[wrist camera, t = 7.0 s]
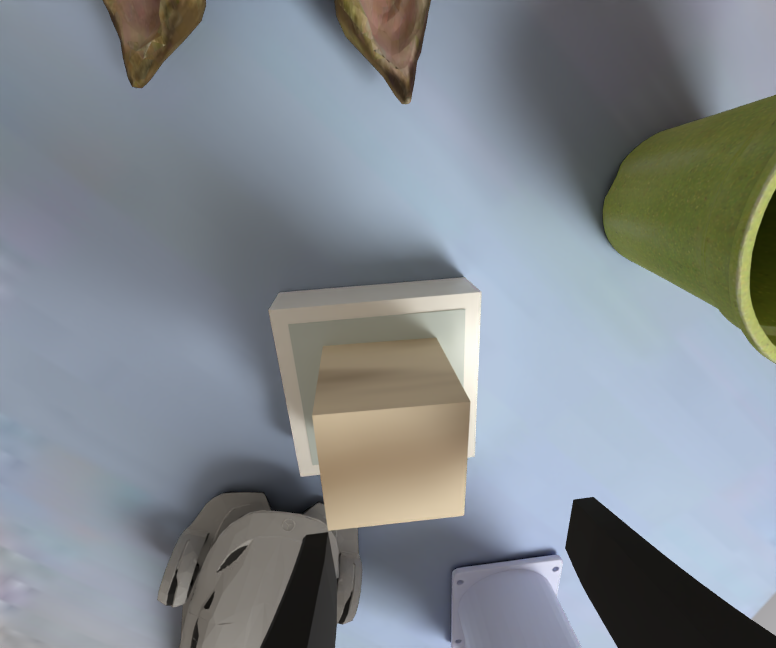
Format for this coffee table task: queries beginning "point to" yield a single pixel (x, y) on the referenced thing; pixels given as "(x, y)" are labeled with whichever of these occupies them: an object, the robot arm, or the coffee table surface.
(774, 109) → the plant pot
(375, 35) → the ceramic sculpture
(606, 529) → the robot arm
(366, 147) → the coffee table surface
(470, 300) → the cream square tray
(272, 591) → the car model
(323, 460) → the maple cube
